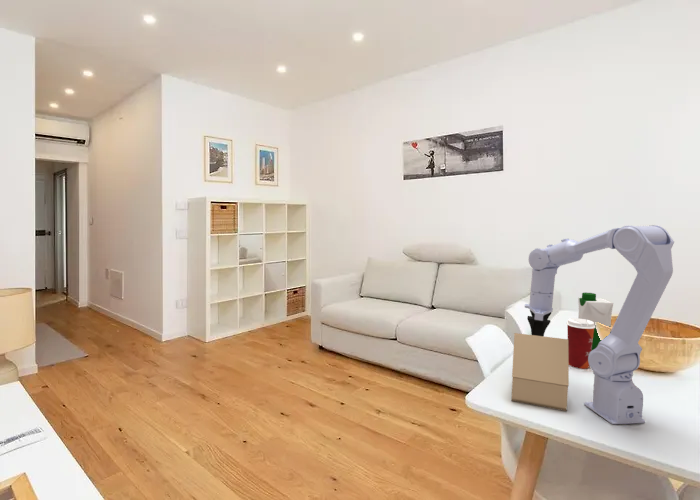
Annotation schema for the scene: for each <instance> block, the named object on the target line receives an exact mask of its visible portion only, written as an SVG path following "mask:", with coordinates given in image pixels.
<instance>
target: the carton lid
mask: <svg viewBox="0 0 700 500" xmlns="http://www.w3.org/2000/svg"><path fill="white" fill-rule="evenodd" d="M513 334H514V338H513V351H512V353H513V354H512V355H513V356H512V372H511V378H513V377H514V378H520V379H527V380H533V381H539V382H545V383H551V384H557V385H564V386H568V387H569V386H570V382H569V380H570V378H569V377H570V375H569V374H570V373H569V371H570V369H569V366H570V365H569V362H568V338H559V337H553V336H535V335H532V334H525V333H517V332H515V333H513Z"/></svg>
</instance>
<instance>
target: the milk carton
mask: <svg viewBox="0 0 700 500" xmlns="http://www.w3.org/2000/svg"><path fill="white" fill-rule="evenodd" d="M577 299H578V301H577V304H578V318H579V319H586V320H590V321H593V322H594V325H595V322H599V323H601V324H604V325H606V326H609V327H611V325H612V313H613V308H614V302H612V301H609V300H607V299H605V298H602V297H601V298H600V297H597V294H596V293H593V292H582V293H581V296H579V297H578V298H577ZM600 341H601V340H600V338H599V336H598V333H597V329H596V325H595V328H594V333H593V341H592V349H591V351H592V350H594V349H595V348H596V347H597V346H598V344H599V342H600Z"/></svg>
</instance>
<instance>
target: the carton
mask: <svg viewBox="0 0 700 500" xmlns="http://www.w3.org/2000/svg"><path fill="white" fill-rule="evenodd" d="M511 378H512V380H511V384H512V385H511V402H515V403H521V404H524V405H525V404H526V405H532V406H537V407H543V408H547V409H553V410H556V411H557V410H558V411H563V412H567V411H568V410H567V409H568V392H569V391H568V390H569V386H564V385H557V384H551V383H545V382H539V381H533V380H527V379H520V378H514V377H511Z"/></svg>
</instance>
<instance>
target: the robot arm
mask: <svg viewBox="0 0 700 500" xmlns="http://www.w3.org/2000/svg"><path fill="white" fill-rule="evenodd" d="M674 243H675V241H674V239H673V238H672V237H671V235H670V234H669V232H668V231H667V229H666V228H664V227H662V226H661V225H655V224H654V225H653V224H652V225H624V226H622V227H617V228H616V227H615V228H611V229H608V230H606V231H603V232H601V233H598V234H596V235H593V236H590V237H588V238H585V239H583V240H580V241H578V240H575V239H570V238H563V239H561V242H558V243H556V244H547V245H546V247H545V248H539V247H536V248H534V249H533V250H531V251H530V252H529V254H528V263H529V265H530V267H531V269H532V270H531V283H530V295H529V304H527V303H525V304H524V308H525V309H529V312H530V314H531V315H527V321H528V324H529V327H530V335H535V336H544V335H545V333H546V330H547V328H548V326H549V325H550V323H551V320H550V319H549V318H550V316H551V315H552V312H553V310H554V308H553V301H554V290H555V281H556V275H557V274H558V270H559V268H560V267H562V266H565V265H568V264H572V263H575V262H579V261H581V260H582V259H583V256H584V254H590V253H592V252H596V251H601V250H605V249H608V248H609V249H611V250H614V249H615V250H617V252H618V253H619V254H620V255H622V257H623V258H624V259H626V260H627V262H629V263H630V264H631V265H632V266H633V268H634V269H635V271H636V276H635V278H634V280H633V283H632V285H631V287H630V289H629V291H628V294H627V296H626V298H625V300H624V302H623V305H622V307H621V309H620V311H619V313H618V315H617V318H616V320H615V322H614V324H613V326H612V328H611V329H610V334H609V335H608V336H606V337H605V338H604V339H603V340H601V341H600V342H599V344H598V346H597V347H596V348H595V349H594V350H592V351H591V352H590V353H589V356H588V363H589V368H590V369H591V370H592V373H593V375H594V377H593V378H594V379H593V390H592V392H593V395H592V401H585V402H583V405H584V406H586V407H587V408H588V409H590V410H591V411H593V412H594V413H595V414H597V415H598V416H600V417H601V418H603V419H604V420H606V421H607V422H608V423H610V424H612V425H621V424H622V425H624V424H625V425H626V424H644V423H646V420H645V419H643V406H644V405H643V404H644V394H643V391H642V390H641V389H640V387H638V386H636V385H635V383H634V381H633V376H634V371H637V369H638V368H640V364H641V353H642V350H643V348H642V346H641V345H640V344H639V341H640V339H641V338H642V336H643V334H644V331H646V327H647V326H648V324H649V322H650V319H651V318H652V316H653V314H654V312H655V310H656V308H657V306H658V304H659V301H660V299H661V298H662V296H663V294H664V293H665V289H666V288H667V286H668V284H669V282H670V280H671V278H672V275H673V273H674V268H673V267H674V266H673V257H672V256H673V255H672V248H673V247H674ZM544 337H545V336H544Z"/></svg>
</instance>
